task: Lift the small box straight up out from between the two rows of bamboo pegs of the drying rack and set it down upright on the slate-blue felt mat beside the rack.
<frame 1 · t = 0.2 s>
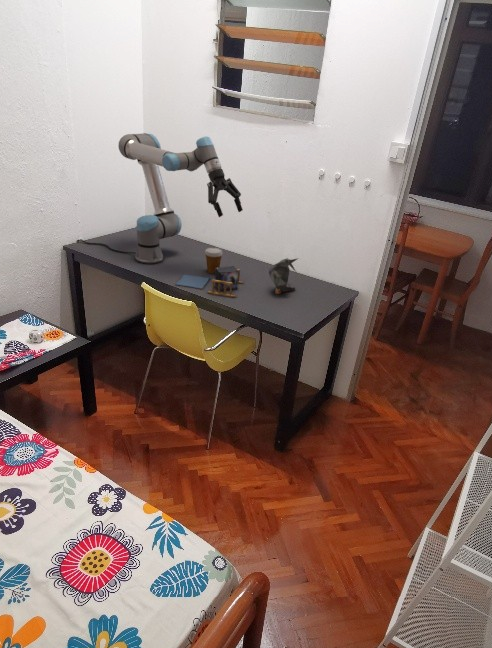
hand: (231, 213, 225), 35 cm above the table, tool tilted 35°, fingers open, 13 cm apart
rack: (226, 288, 236), on the table
disposable coffee cup: (213, 271, 253), on the table
bird figurine: (280, 291, 240), on the table
small box: (226, 288, 236), on the table
felt mat: (193, 282, 238), on the table
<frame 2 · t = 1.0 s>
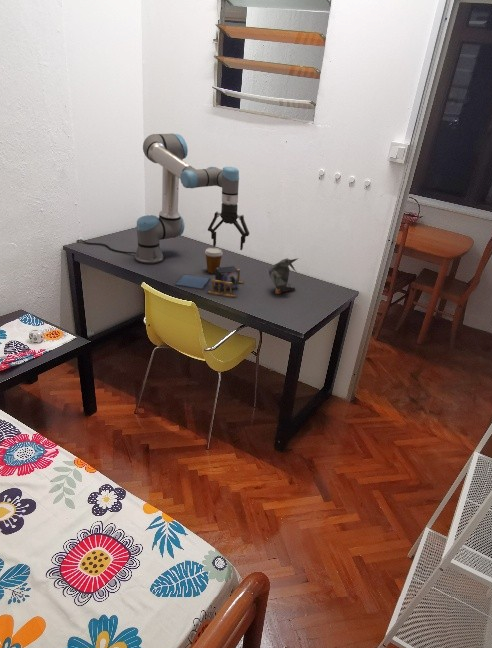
hand: (228, 247, 224), 21 cm above the table, tool pointing down, fingers open, 13 cm apart
nothing on the table moved.
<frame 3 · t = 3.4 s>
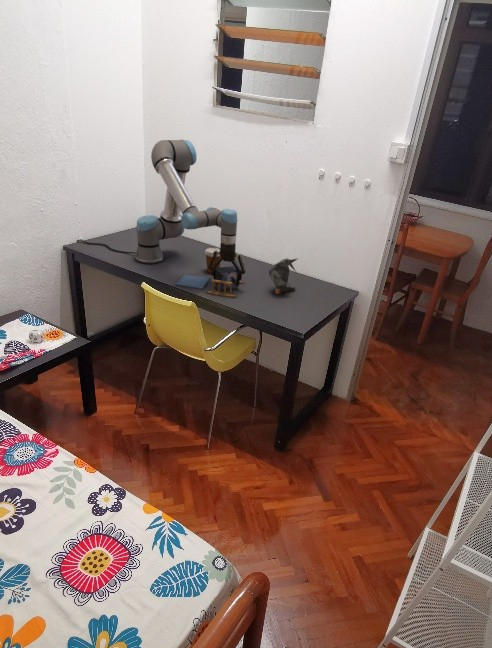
hand: (226, 283, 235), 2 cm above the table, tool pointing down, fingers closed on small box, 12 cm apart
small box: (226, 288, 236), on the table, touching gripper
everything else where it was.
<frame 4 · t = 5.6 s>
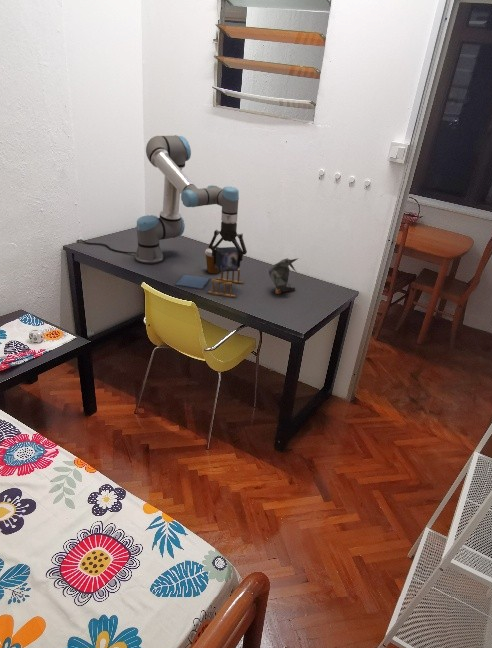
hand: (226, 264, 229), 13 cm above the table, tool pointing down, fingers closed on small box, 12 cm apart
small box: (226, 269, 231), point 10 cm above the table, touching gripper
everything else where it was.
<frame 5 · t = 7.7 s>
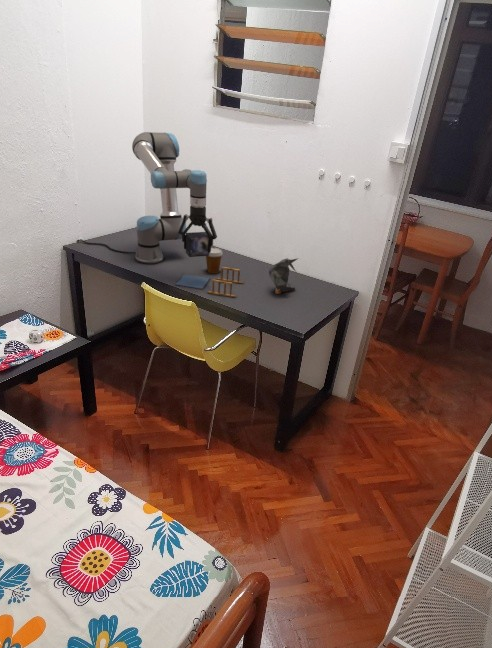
hand: (197, 250, 228), 18 cm above the table, tool pointing down, fingers closed on small box, 12 cm apart
small box: (197, 254, 230), point 15 cm above the table, touching gripper
everything else where it was.
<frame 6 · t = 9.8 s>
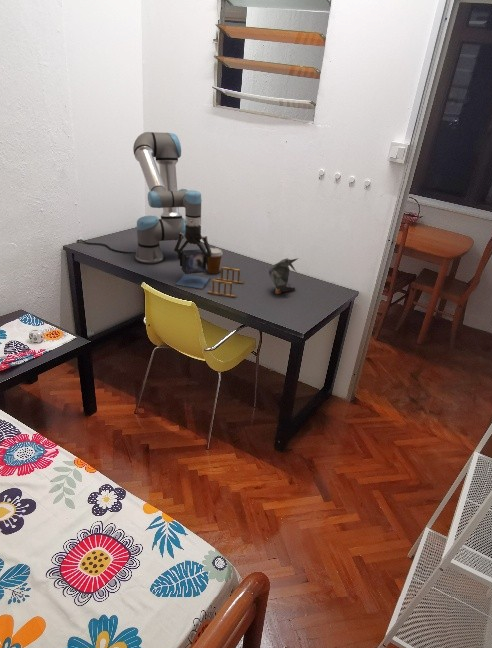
hand: (193, 267, 233), 8 cm above the table, tool pointing down, fingers closed on small box, 12 cm apart
small box: (193, 271, 235), point 6 cm above the table, touching gripper
everything else where it was.
when the fingers open (3 cm above the table, at t = 11.8 s): small box stays where it is, resting on felt mat.
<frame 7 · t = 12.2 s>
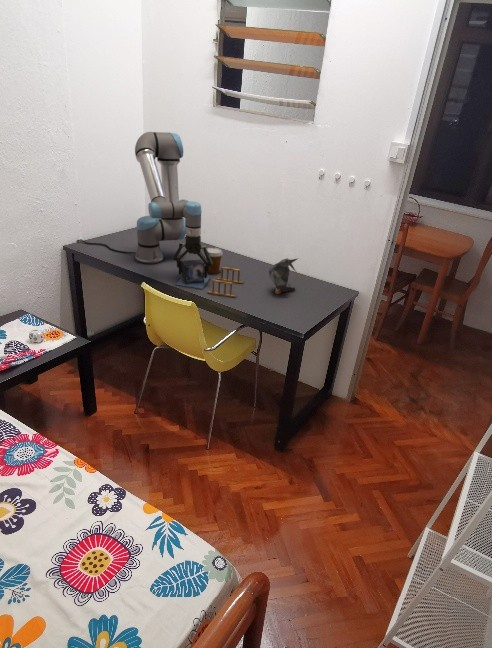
hand: (193, 275, 236), 4 cm above the table, tool pointing down, fingers open, 13 cm apart
small box: (192, 281, 238), resting on felt mat
everything else where it was.
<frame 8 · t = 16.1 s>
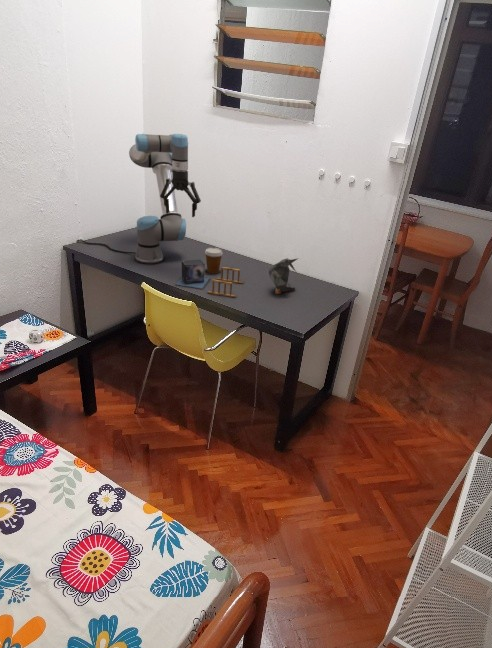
hand: (180, 214, 231), 31 cm above the table, tool pointing down, fingers open, 13 cm apart
nothing on the table moved.
at the end: small box inside the target area on the felt mat (0.0 cm from its centre), point 0.3 cm above the felt mat's base; small box tilted 0°; the gripper is holding nothing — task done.
